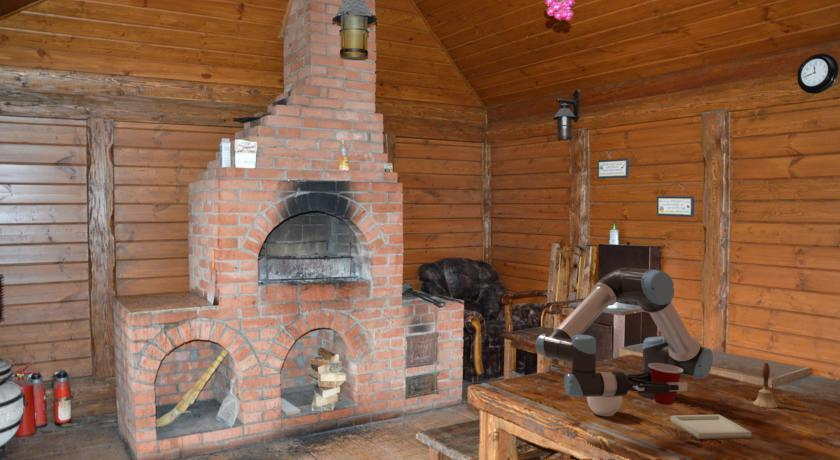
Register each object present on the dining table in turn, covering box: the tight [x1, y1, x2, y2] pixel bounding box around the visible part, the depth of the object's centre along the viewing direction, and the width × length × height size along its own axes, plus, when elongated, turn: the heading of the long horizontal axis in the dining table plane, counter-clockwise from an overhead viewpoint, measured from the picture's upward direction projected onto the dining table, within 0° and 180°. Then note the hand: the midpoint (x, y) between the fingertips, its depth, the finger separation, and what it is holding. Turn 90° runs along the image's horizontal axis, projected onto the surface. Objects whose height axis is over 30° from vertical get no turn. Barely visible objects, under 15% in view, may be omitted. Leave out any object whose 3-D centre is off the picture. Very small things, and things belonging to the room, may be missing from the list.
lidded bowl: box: [586, 395, 623, 417], centre depth 229 cm, size 13×13×11 cm
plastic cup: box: [648, 363, 683, 406], centre depth 207 cm, size 11×11×12 cm
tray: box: [670, 414, 752, 440], centre depth 213 cm, size 18×18×2 cm
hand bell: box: [752, 362, 779, 409], centre depth 241 cm, size 8×8×16 cm
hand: (678, 382), depth 207 cm, fingers closed on plastic cup, 9 cm apart
